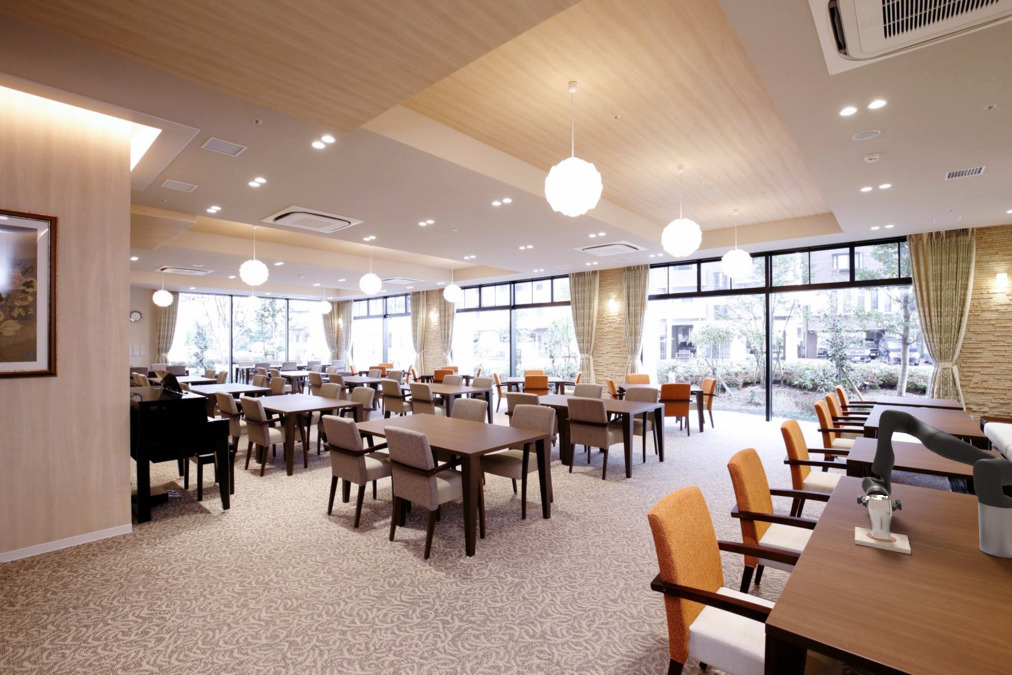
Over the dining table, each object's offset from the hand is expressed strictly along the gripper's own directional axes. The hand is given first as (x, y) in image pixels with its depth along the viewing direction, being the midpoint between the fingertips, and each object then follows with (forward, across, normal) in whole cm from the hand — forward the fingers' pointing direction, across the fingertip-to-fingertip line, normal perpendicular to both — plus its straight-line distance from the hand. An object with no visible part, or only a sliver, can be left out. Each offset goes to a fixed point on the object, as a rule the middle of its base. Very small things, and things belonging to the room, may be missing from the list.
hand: (879, 506), depth 187 cm
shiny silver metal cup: (+9, 0, +9) cm, 13 cm away
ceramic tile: (+10, 0, +10) cm, 14 cm away
